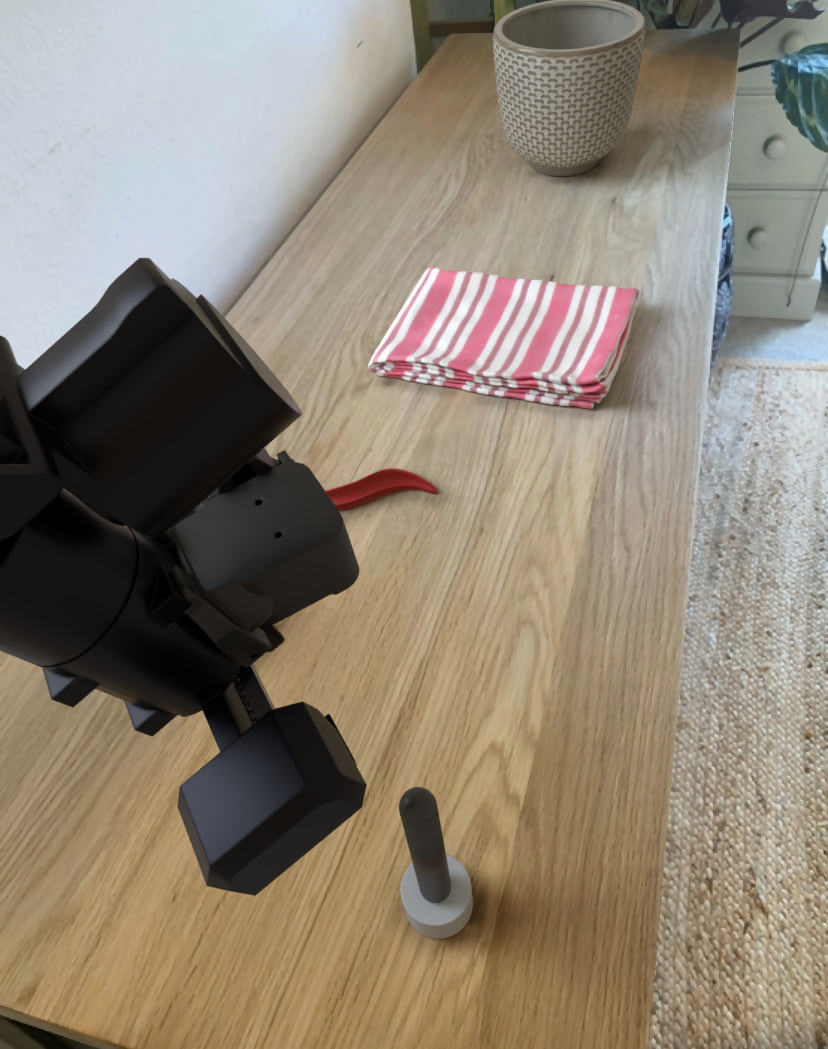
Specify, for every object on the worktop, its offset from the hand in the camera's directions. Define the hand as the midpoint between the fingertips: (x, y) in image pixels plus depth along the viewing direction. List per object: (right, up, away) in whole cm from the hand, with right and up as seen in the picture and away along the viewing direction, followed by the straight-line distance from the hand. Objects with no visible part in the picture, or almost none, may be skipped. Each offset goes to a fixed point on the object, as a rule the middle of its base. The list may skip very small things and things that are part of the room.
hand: (312, 710), depth 42 cm
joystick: (+6, -13, +8) cm, 16 cm away
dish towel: (+14, +27, +43) cm, 53 cm away
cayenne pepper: (+1, +12, +31) cm, 33 cm away
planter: (+24, +55, +67) cm, 91 cm away
